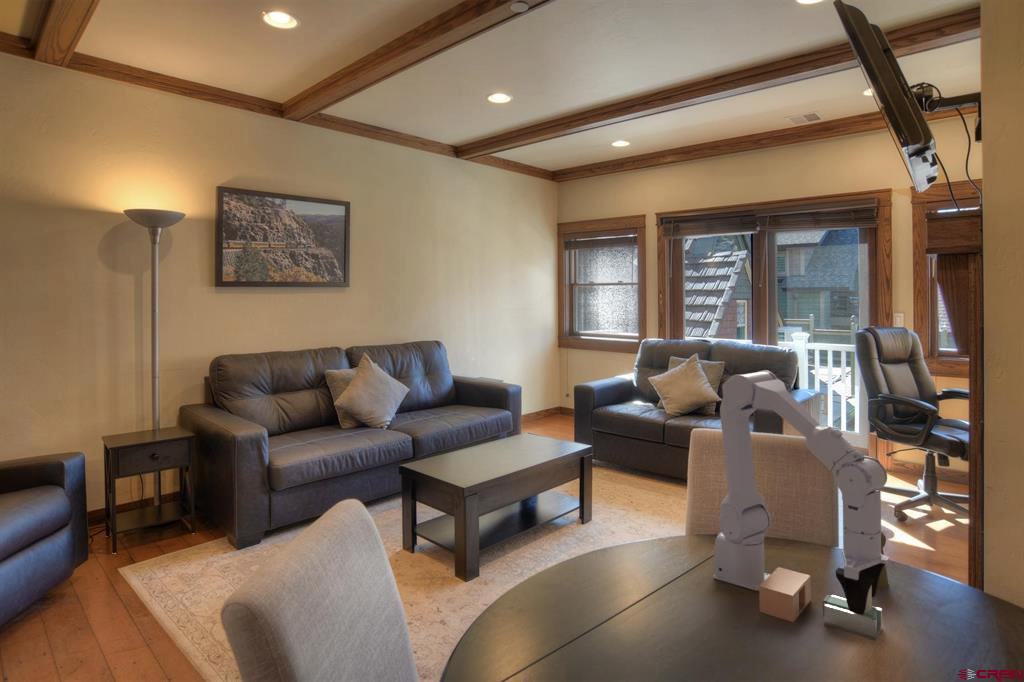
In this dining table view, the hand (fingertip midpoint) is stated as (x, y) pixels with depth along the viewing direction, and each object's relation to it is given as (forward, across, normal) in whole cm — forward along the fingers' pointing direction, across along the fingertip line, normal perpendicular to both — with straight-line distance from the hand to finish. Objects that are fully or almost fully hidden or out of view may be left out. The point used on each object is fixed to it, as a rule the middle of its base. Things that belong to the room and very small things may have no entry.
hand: (862, 603), depth 104 cm
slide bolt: (+5, 0, +2) cm, 5 cm away
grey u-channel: (+5, 0, +2) cm, 5 cm away
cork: (+5, +20, +3) cm, 21 cm away
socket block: (+5, 0, +13) cm, 14 cm away
